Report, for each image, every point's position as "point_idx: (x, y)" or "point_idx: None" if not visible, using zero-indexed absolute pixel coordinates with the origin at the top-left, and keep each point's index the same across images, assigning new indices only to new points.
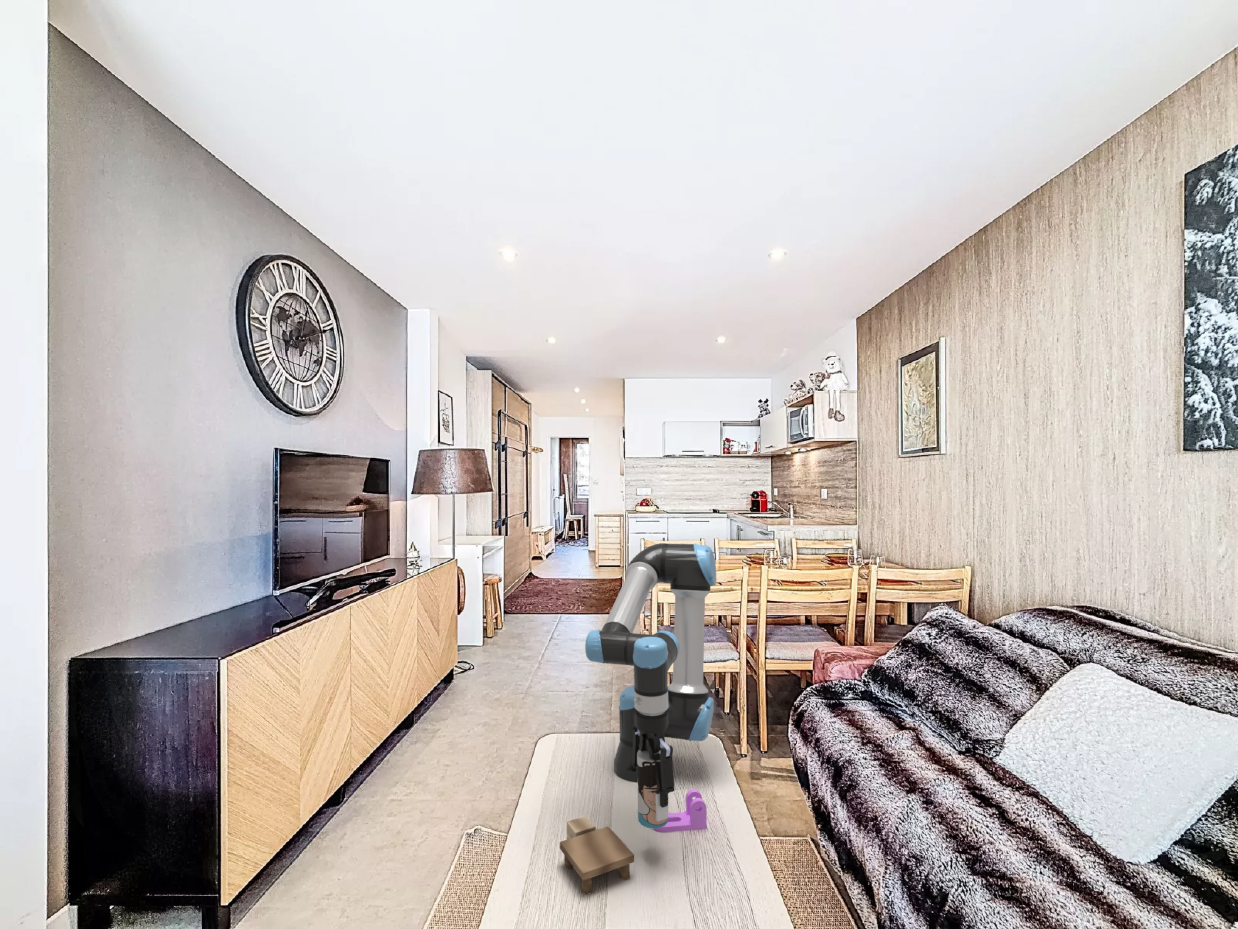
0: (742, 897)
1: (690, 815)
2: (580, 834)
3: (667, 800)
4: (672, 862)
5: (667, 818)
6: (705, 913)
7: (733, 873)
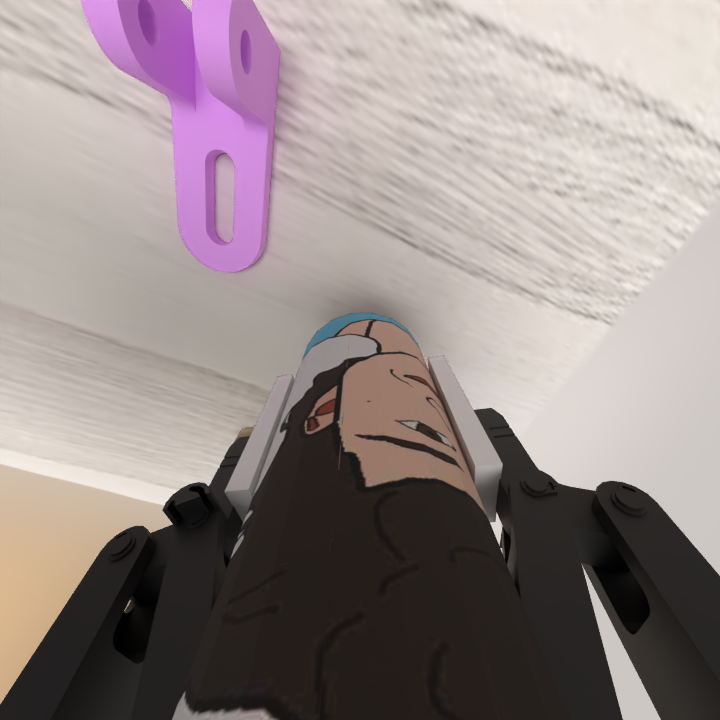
0: (664, 146)
1: (240, 111)
2: None
3: (513, 436)
4: (410, 282)
5: (406, 333)
6: (623, 291)
7: (561, 103)
